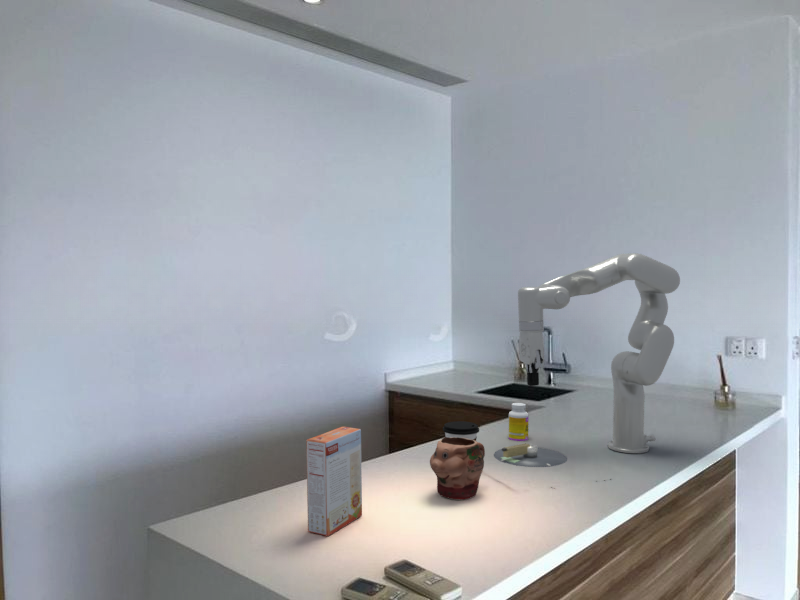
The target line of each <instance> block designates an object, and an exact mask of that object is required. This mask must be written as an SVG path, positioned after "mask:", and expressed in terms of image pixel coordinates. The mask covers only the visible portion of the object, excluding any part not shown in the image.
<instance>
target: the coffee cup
mask: <svg viewBox="0 0 800 600" xmlns="http://www.w3.org/2000/svg"><path fill="white" fill-rule="evenodd" d="M442 432H443V433H444V435H445V436H444V438H445V437H449V438H450V437H458V438H467V439H471V440H475V441H477V437H478V436H477V434H478V433H479V432H480V428H479V425H478V424H476V423H475V422H471V421H465V420H464V421H463V420H462V421H461V420H457V421H448V422H446V423H444V426H442Z"/></svg>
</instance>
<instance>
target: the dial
mask: <svg viewBox="0 0 800 600" xmlns="http://www.w3.org/2000/svg"><path fill="white" fill-rule="evenodd" d="M493 457H494V458H495V459H496V460H498V461H499V462H502V463H504V464H508V465H512V466H519V467H526V468H546V467H547V468H548V467H556V466H559V465H563V464H564V463H566V462H567V461H568V457H567V456H566V455H565V454H564V453H562V452H560V451H556V450H555V449H549V448H544V447H538V448H537V457H525V456H523V455H518V456H513V457H509V458H507V457H504V456H503V451H502V448H500V449H497V450H496V451H495V452H494V453H493Z"/></svg>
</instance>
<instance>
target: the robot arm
mask: <svg viewBox="0 0 800 600" xmlns="http://www.w3.org/2000/svg"><path fill="white" fill-rule="evenodd" d="M677 271H678V270H676V269H675V268H674V267H672V266H671V265H668V264H665V263H663V262H661V261H658V260H656V259H654V258H652V257H649V256H647V255H644V254H642V253H637V252H633V253H631V252H629V253H619V254H616V255H614V256H611V257H609V258H607V259H603V260H602V261H599V262H598V263H595V264H592V265H590V266H588V267H585V268H582V269H579V270H576V271H574V272H571V273H568V274H565V275H561V276H559V277H557V278H554V279H552V280H549V281H546V282H545V283H542V284H540V285H539V286H525V287H524V286H522V287H520V288H518V291H517V303H518V306H517V307H518V332H519V335H518V336H519V338H518V360H519V361H520V362H522V363H524V365H525V368H526V380H527V385H528V386H529V387H534V386H539V385H540V376H539V372H540V369H541V368H542V365H541V364H543V363H544V361H545V346H544V345H545V344H544V336H543V332H544V331H545V328H544V327H545V326H544V309H545V310H547V309H548V310H561V309H564V308H566V307H567V306H568V304H569V303H570V300H571V298H573V297H579V296H587V295H592V294H597V293H599V292H602V291H604V290H606V289H609V288H611V287H613V286H615V285H618V284H620V283H623V282H625V281H634V284H635V286H636V288H637V291H638V293H639V297H640V306H639V309H638V312H637V315H636V316H635V319H634V321H633V324H632V325H631V327H630V330H629V332H628V335H627V342H628V344H629V345H630V346H631V347H632V348H633V349H636V350H638V351H639V352H635V351H621V352H619V353H616V355H615V356H614V357H613V358H612V361H611V365H610V370H611V372H610V373H611V376H612V383H613V384H612V385H613V400H612V402H613V405H612V407H613V409H612V410H613V411H612V412H613V413H612V414H613V415H612V440H611V441H609V442H608V443H607V447H608V448H609V450H612V451H613V452H619V453H624V454H644V453H647V452H649V449H650V446H649V445H647V443H649V442H651V443H652V442H656V436H655V435H654V434H652V435H647V434H645V402H646V401H645V398H646V395H645V388H644V386H645V387H647V386H649V387H650V386H652V385H654V384H655V383H656V382H657V381H659V379H660V377H661V376H662V374H663V372H664V370H665V367H666V365H667V363H668V360H669V358H670V356H671V353H672V351H673V349H674V346H675V336H674V332H673V330H672V328H671V327H670V326H668V325H666V324H664V323H665V321H666V318H667V315H668V310H669V303H668V298H667V295H668V294H671V293H674V292H675V291H677V289H678V288H679V286H680V283H681V278H680V274H679V272H677ZM666 294H667V295H666Z"/></svg>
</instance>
